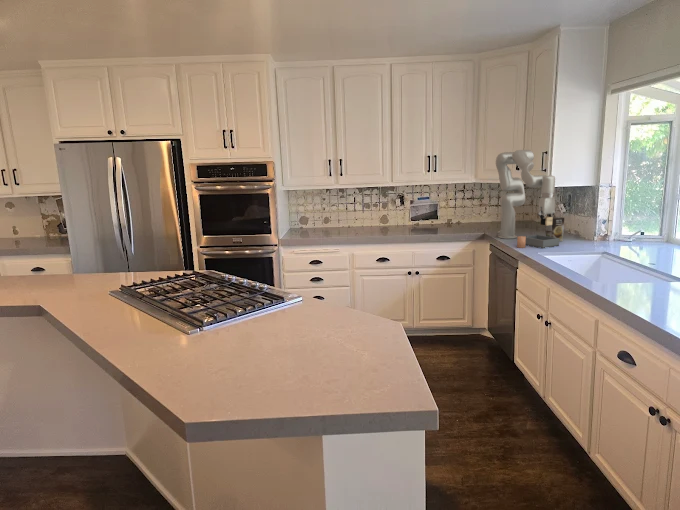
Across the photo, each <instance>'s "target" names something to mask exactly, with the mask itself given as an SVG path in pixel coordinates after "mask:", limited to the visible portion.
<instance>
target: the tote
mask: <svg viewBox="0 0 680 510" xmlns="http://www.w3.org/2000/svg"><path fill="white" fill-rule="evenodd" d="M525 236H526V245H525V246H528V245H529V246H528V247H533V246H534V248H538V247H541V248H540V249H546V248H545V247H549V248H554V246H556V247H560V242H559V238H555V237H549V236H546V235H542V234H530V235H525Z"/></svg>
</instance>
